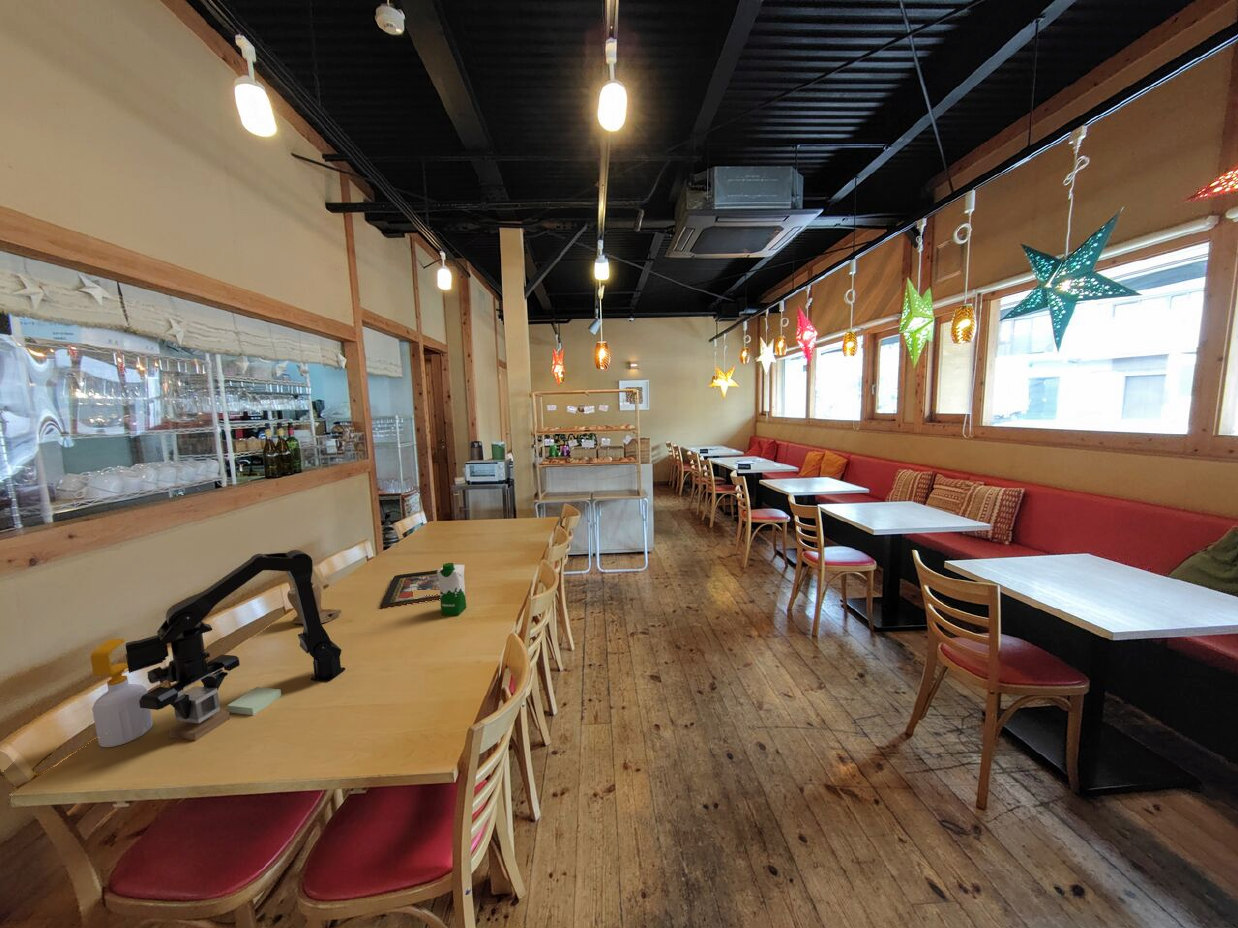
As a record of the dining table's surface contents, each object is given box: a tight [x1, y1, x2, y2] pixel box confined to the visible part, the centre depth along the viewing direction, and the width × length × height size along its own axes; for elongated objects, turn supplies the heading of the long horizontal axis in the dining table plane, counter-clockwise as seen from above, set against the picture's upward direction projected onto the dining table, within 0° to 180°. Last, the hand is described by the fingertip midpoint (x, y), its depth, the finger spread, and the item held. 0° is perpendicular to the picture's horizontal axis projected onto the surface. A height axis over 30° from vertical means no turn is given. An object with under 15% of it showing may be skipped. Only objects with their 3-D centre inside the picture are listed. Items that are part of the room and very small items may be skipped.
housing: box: [173, 685, 221, 723], centre depth 112 cm, size 7×5×6 cm
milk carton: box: [437, 562, 467, 617], centre depth 175 cm, size 9×9×20 cm
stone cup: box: [286, 581, 343, 625], centre depth 170 cm, size 15×12×15 cm
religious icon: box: [380, 569, 440, 610], centre depth 201 cm, size 38×35×3 cm
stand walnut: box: [168, 709, 231, 742], centre depth 113 cm, size 8×8×2 cm
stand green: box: [227, 686, 282, 716], centre depth 122 cm, size 8×8×2 cm
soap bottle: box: [90, 638, 153, 748], centre depth 110 cm, size 9×9×25 cm
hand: (198, 711), depth 113 cm, fingers closed on housing, 5 cm apart
